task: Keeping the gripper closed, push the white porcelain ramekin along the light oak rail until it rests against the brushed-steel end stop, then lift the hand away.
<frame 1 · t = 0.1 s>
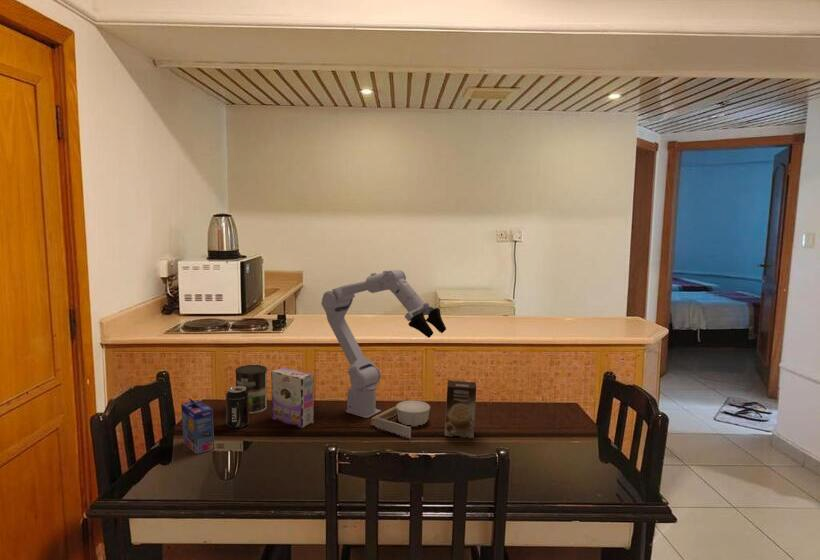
hand: (437, 333, 161), 32 cm above the table, tool tilted 50°, fingers open, 7 cm apart
beverage can: (237, 425, 168), on the table
oak rail: (385, 419, 175), on the table
coffee box: (459, 433, 166), on the table
coffee can: (251, 409, 182), on the table
candy box: (292, 421, 172), on the table
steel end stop: (392, 433, 165), on the table
ink cartridge box: (198, 447, 152), on the table
ramekin: (412, 422, 175), on the table
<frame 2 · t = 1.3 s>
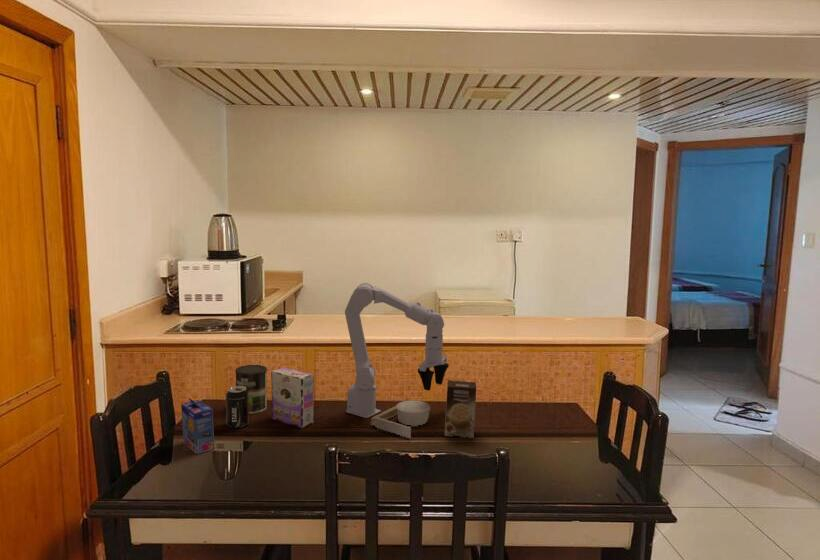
hand: (433, 386, 180), 10 cm above the table, tool pointing down, fingers open, 7 cm apart
nothing on the table moved.
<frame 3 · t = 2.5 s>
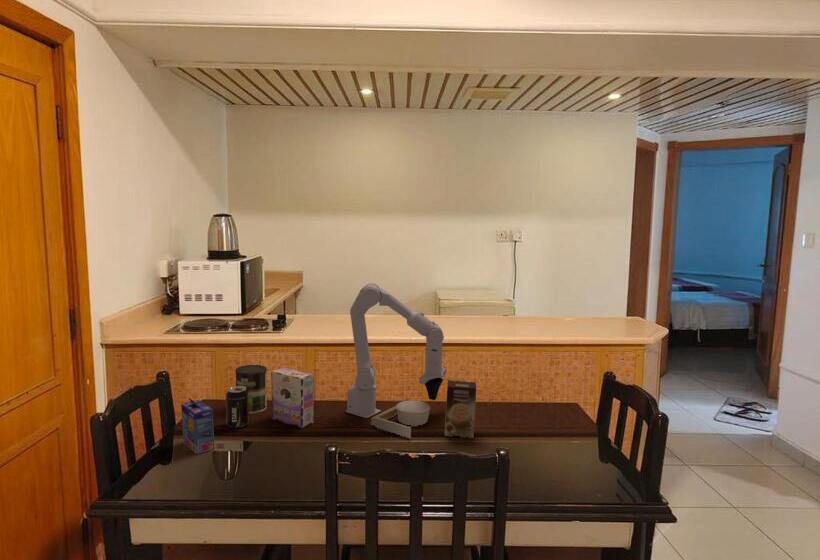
hand: (432, 399, 181), 5 cm above the table, tool pointing down, fingers closed
nothing on the table moved.
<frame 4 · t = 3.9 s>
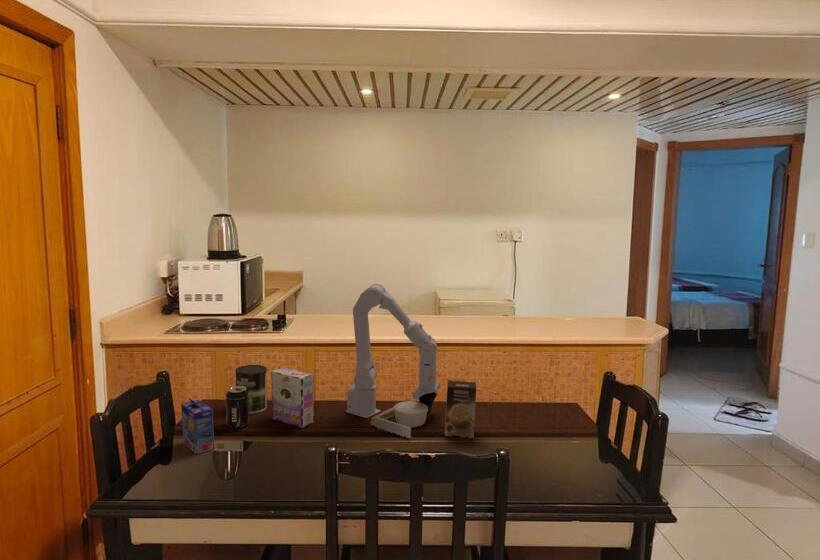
hand: (426, 413, 178), 1 cm above the table, tool pointing down, fingers closed
ramekin: (410, 422, 173), on the table, touching gripper
everything else where it was.
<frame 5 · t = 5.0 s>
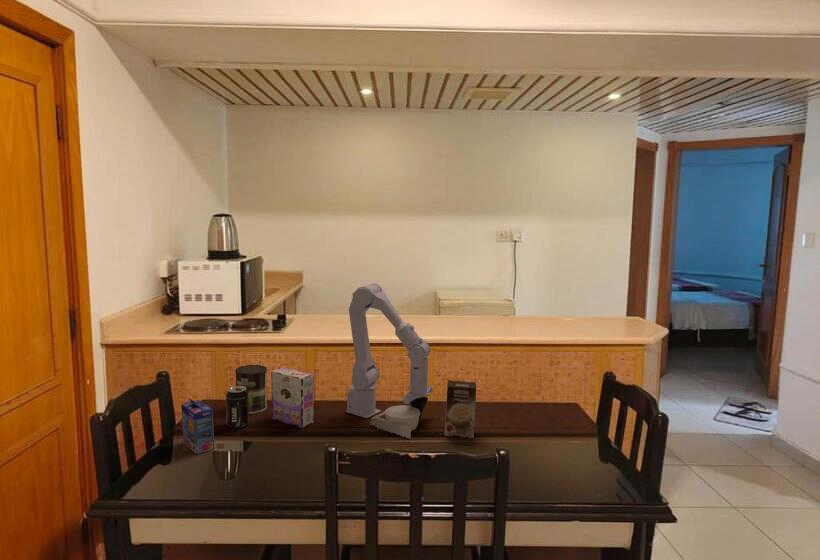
hand: (417, 418, 174), 1 cm above the table, tool pointing down, fingers closed
ramekin: (402, 427, 169), on the table, touching gripper, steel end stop
everything else where it was.
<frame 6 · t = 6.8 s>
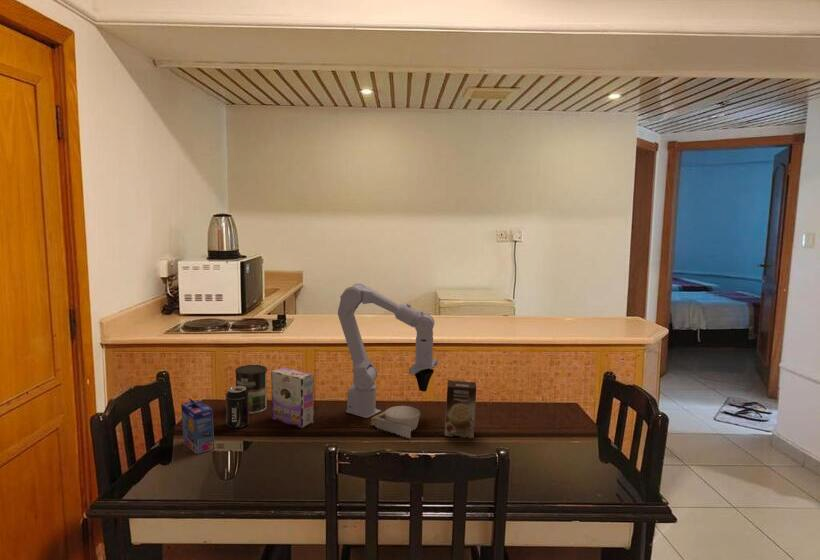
hand: (422, 390, 177), 9 cm above the table, tool pointing down, fingers closed
ramekin: (402, 428, 169), on the table
everything else where it was.
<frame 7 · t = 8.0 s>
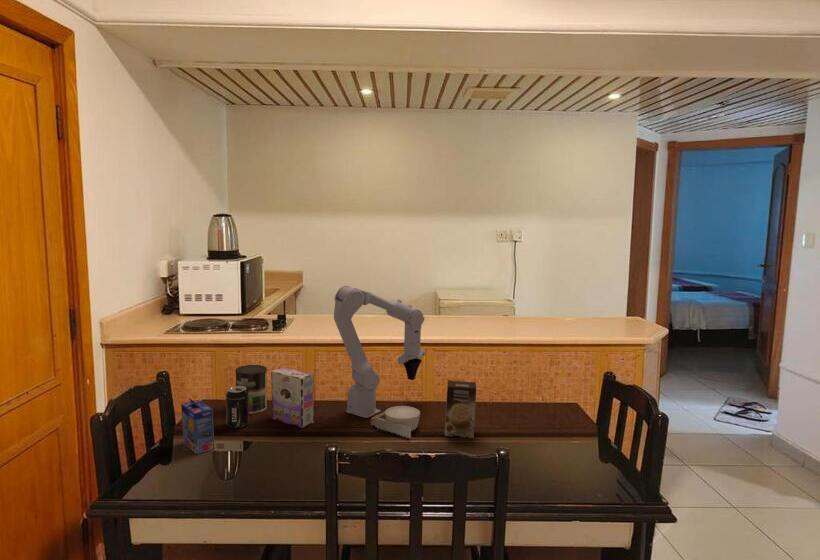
hand: (411, 379, 188), 9 cm above the table, tool pointing down, fingers closed
nothing on the table moved.
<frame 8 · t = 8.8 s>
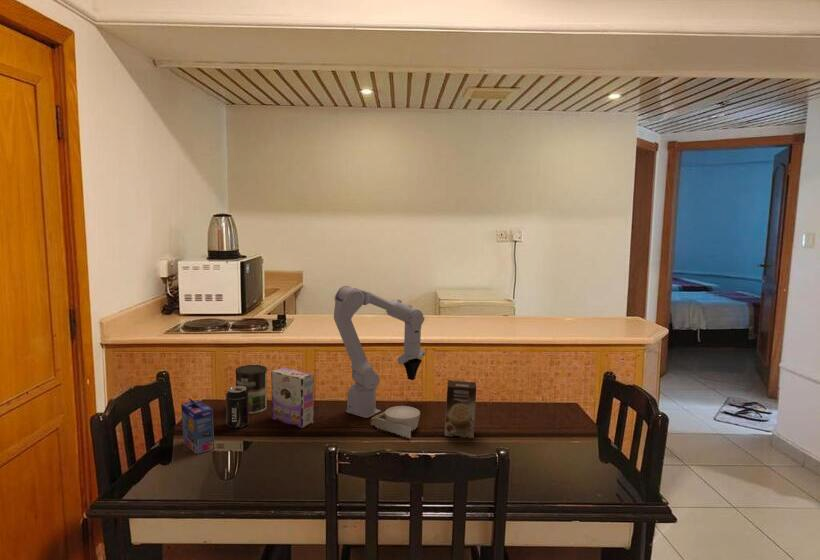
hand: (411, 379, 188), 9 cm above the table, tool pointing down, fingers closed
nothing on the table moved.
at the end: ramekin 0.5 cm from the target spot, on the table; ramekin tilted 0°; ramekin moved 6.2 cm from its start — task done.
